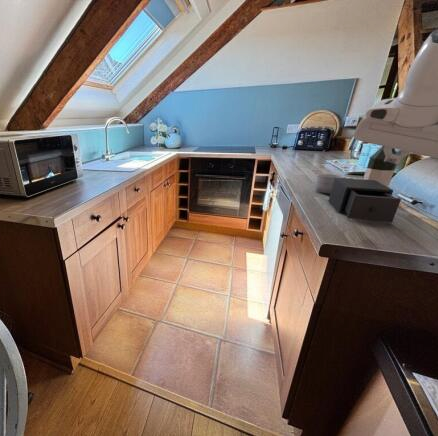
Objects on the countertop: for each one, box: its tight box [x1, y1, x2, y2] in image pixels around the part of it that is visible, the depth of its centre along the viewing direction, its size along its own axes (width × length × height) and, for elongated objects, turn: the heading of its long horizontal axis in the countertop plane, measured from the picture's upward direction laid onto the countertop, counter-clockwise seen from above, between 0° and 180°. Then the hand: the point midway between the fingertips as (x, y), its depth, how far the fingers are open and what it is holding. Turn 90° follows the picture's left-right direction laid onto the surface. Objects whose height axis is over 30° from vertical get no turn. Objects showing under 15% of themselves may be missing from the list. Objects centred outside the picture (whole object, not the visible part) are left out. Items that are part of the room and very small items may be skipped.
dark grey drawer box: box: [328, 177, 394, 215], centre depth 89 cm, size 15×13×10 cm
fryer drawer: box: [343, 189, 402, 223], centre depth 82 cm, size 15×11×8 cm
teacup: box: [314, 173, 355, 195], centre depth 108 cm, size 14×11×8 cm
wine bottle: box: [362, 146, 398, 188], centre depth 96 cm, size 8×8×30 cm
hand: (391, 161), depth 66 cm, fingers closed
